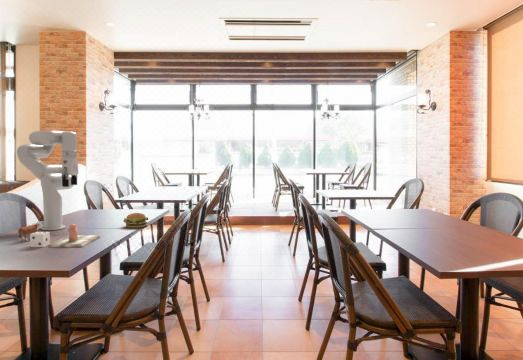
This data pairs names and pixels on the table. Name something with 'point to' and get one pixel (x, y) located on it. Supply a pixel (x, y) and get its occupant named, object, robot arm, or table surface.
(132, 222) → the food
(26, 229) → the bull figurine
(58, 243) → the game board
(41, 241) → the die
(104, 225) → the table surface
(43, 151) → the robot arm
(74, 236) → the peach rounded cylinder
